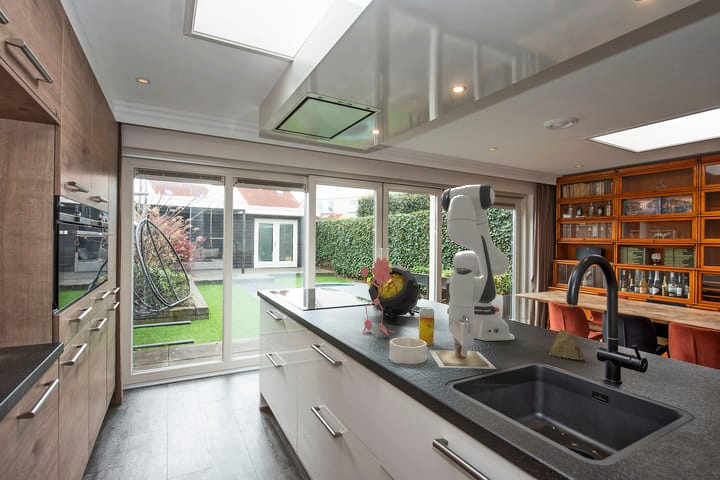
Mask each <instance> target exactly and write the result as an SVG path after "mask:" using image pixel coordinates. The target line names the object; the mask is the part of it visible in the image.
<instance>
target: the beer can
mask: <svg viewBox="0 0 720 480" xmlns="http://www.w3.org/2000/svg"><path fill="white" fill-rule="evenodd" d="M418 312H419V315H418V317H419V318H418V339H420V340H423V341H425V342H426V343H427V346H432V345H433V344H434V343H435V342H434V340H435V339H434V337H435V335H434V333H435V310H434V308H433V307H430V306H422V307H420V308H419V311H418Z"/></svg>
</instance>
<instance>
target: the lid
mask: <svg viewBox="0 0 720 480" xmlns="http://www.w3.org/2000/svg"><path fill="white" fill-rule="evenodd" d="M461 350H462V344H461V343H460V344H456V348H455V349H454V350H449V349H448V350H446V349H445V350H442V349H441V350H440V349H436V350H435V351H436V354H437V355H438V357H439V358H440V360H441V361H442V363H443V364H444V365H447V366H484V367H489V364H488V363H487V362H486V361H485V360H484V359H483V358H482V357H481V356H480V355H479V354H478V353H477V352H478V351H475V350H468V351H467V356H466V357H463V356H462V355H461Z"/></svg>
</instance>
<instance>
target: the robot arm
mask: <svg viewBox="0 0 720 480" xmlns="http://www.w3.org/2000/svg"><path fill="white" fill-rule="evenodd" d="M440 197H441V198H440V204H441V207H442V209H443V210H444V211H445V212H446V213H447V216H446V217H447V218H446V233H447V236H448V237H449V239H450V240H451V241H452V242H453V243H455V244H456V245H457V246H458V245H459V246H460V247H463V248H465V249H467V250H461V251H457V252H456V253H455V254H454V256H453V259H452V264H453V267H454V268H453V269H452V270H451V273H450V277H448V278H447V279H446V280H445V296H446V297H448V299H449V302H448V308H447V311H446V313H447V315H448V328H449V329H448V330H449V333H450V334H451V335H452V336H453V337H452V338H453V342H454V343H453V344H454V346H453V347H454V349H456V344H460V345H462V350H461V355H462V356H463V357H466V356H467V351H469V347H473V346H474V342H475V340H476V339H477V340H480V341H485V342H486V341H487V342H489V341H491V342H492V341H515V340H516V339H515V337H516V336H515V334H513V333H511V332H510V329H509V323H507V322H506V321H505V320H503V319H502V318H501V317H500V316H499V315H498V314H497V313H499V312H500V308H499V307H498V306H494V305H493V301H494V300H495V299H496V297H497V285H496V282H495V279H494V276H502V275H505V274H506V273H507V272H508V270H509V269H510V268H509V267H510V259H509V257H508V256H507V254H506V253H504V252H503V251H502V250H500V248H498V247H497V246H496V245H495V242H494V241H493V239H492V236H491V232H490V227H489V217H488V212H487V211H488V210H489V209H490V208H491V207H492V206H493V205H494V204H495V203H494V202H495V200H496V199H495V198H496V194H495V191H494V189H493V187H492V186H491V185H490V184H487V183H481V184H469V185H468V184H466V185H464V186H459V187H453V188H452V187H450V188H448V189H444V191H443V192H442V193H441V195H440ZM474 339H475V340H474Z"/></svg>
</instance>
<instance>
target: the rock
mask: <svg viewBox="0 0 720 480" xmlns="http://www.w3.org/2000/svg"><path fill="white" fill-rule="evenodd" d="M548 356H553V357H556V356H557V357H556V358H561V357H563V358H562V359H568V358H570V360H577V361H584V360H585V357H584V353H583V351H582V349H581V347H580V345H579V344H578V343H577V342H576V340H575V339H574V338H573V337H572V335H570V333H568V331H567V330H564V329H562V328H561V329H560V331H559V332H558V333H557V334H556V336H555V338H554V341H553V343H552V344H551V347H550V350H549V353H548Z"/></svg>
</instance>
